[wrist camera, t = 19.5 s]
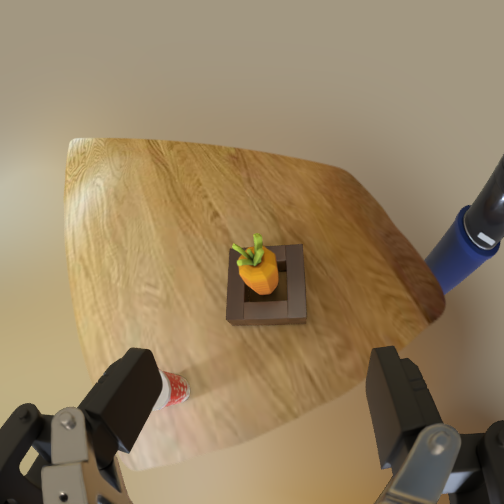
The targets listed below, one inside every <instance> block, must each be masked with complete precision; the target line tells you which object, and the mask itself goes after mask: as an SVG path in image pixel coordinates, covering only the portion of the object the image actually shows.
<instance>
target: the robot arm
mask: <svg viewBox="0 0 504 504" xmlns="http://www.w3.org/2000/svg"><path fill="white" fill-rule="evenodd" d="M463 227H464V230H465V233H466V235H467V237H468V238H469V240H470V241H471V242H472V243H473V244H474V245H475V246H476V247H477V248H479V249H481V250H485V251H488V250H491V249H493V248H494V247H495V246H496V244H497V243H498V242H499V241H500V240H501V239H502V238H503V237H504V154H503V156H502V158H501V159H500V161H499V163H498V165H497V166H496V168H495V170H494V172H493V173H492V175H491V176H490V178H489V180H488V181H487V183H486V184H485V186H484V188H483V189H482V191H481V192H480V194H479V195H478V197H477V198H476V200H475V201H474V203H473V204H472V205H471V207H470V208H469V210H467V212H466V213H465V215H464V217H463ZM162 388H163V380H162V377H161V374H160V372H159V369H158V367H157V364H156V361H155V359H154V356H153V354H152V352H151V351H150V350H149V349H141V348H130V349H129V350H128V351H127V352H126V354H125V355H124V356H123V358H120V359H119V360H117V361H116V362H114V363H113V364H111V365H110V366H109V367H108V369H107V370H106V371H105V373H104V375H103V376H101V378H100V379H99V380H98V383H96V384H95V385H94V387H93V388H92V389H91V391H90V392H89V393H88V394H87V396H86V397H85V398H84V400H83V401H82V402H81V403H80V405H79V406H78V407H77V408H76V407H67V408H64V409H62V410H60V411H59V412H57V413H56V414H55V415H43V414H41V413H40V411H39V410H38V409H37V407H36V406H35V405H34V404H31V403H26V404H23V405H21V406H19V407H18V408H17V409H16V410H15V411H14V412H13V413H12V414H11V416H10V417H9V418H8V420H7V421H6V422H5V423H4V425H3V426H2V427H1V429H0V504H133V503H132V501H131V500H130V498H129V496H128V493H127V490H126V487H125V484H124V480H123V477H122V473H121V470H120V466H119V462H118V459H117V457H116V455H115V454H116V452H117V451H118V450H119V451H122V452H125V453H130V451H131V449H132V447H133V445H134V443H135V441H136V440H137V438H138V436H139V434H140V432H141V430H142V428H143V426H144V424H145V422H146V421H147V419H148V417H149V415H150V413H151V411H152V409H153V407H154V405H155V404H156V402H157V400H158V398H159V396H160V394H161V392H162ZM366 395H367V400H368V405H369V409H370V414H371V418H372V423H373V427H374V433H375V438H376V442H377V448H378V454H379V459H380V465H381V469H386V468H392V473H393V476H392V478H391V479H390V481H389V482H388V484H387V485H386V487H385V489H384V490H383V492H382V493H381V494H380V496H379V497H378V499H377V500H376V502H375V503H374V504H437V502H438V500H439V498H440V496H441V494H443V493H444V494H445V493H448V495H449V500H450V504H504V421H503V420H502V421H497V422H495V423H493V424H492V425H491V426H490V427H489V428H488V430H487V431H486V433H476V434H459V433H458V431H457V430H456V429H455V428H453V427H452V426H450V425H447V424H444V423H443V421H442V419H441V417H440V415H439V412H438V410H437V408H436V405H435V403H434V401H433V398H432V396H431V394H430V392H429V389H427V385H426V383H425V381H424V379H423V377H422V374H421V372H420V370H419V368H418V366H417V365H415V364H414V363H413V362H412V361H411V360H410V359H409V358H405V359H400V358H399V356H398V353H397V351H396V349H395V347H394V346H387V347H380V348H373V349H372V351H371V356H370V362H369V367H368V373H367V378H366ZM31 446H33V448H34V449H35V450H37V452H38V453H39V455H38V457H37V458H36V460H35V462H34V463H33V465H32V466H31V468H30V470H29V471H28V473H27V474H26V475H25V476H23V475H22V474H21V472H20V469H19V465H20V462H21V461H22V459H23V458H24V456H25V455H26V453H27V452H28V450H29V449H30V447H31Z"/></svg>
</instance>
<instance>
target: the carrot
mask: <svg viewBox="0 0 504 504" xmlns="http://www.w3.org/2000/svg"><path fill="white" fill-rule="evenodd" d="M253 235H254V247H248V248H247V249H246V250H245V251H244V250H243V249H242V248H241V247H240V246H238V245H236V244H233V246H232V248H233V249H235V250H236V251H238V252H239V253H241V254H242V255H241V256H240V257H239V259H238V261H237V265H238V266H239V274H240V276H241V278H242V279H243V281H244V282H245V283H246V285H248V286H249V287H250V288H251V289H253V290H254V291H255V292H257V293H258V294H259V295H268V294H271V293H272V292H273V291H274V289H275V288H276V287H277V285H278V281H279V278H278V269H277V261H276V255H275V254H274V253H273V252H271V251H270V250H269V249H267V248H266V247H264V246H263V245H262V236H261V235H260V234H258V233H256V234H253Z"/></svg>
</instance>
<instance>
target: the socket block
mask: <svg viewBox="0 0 504 504" xmlns="http://www.w3.org/2000/svg"><path fill="white" fill-rule="evenodd" d="M264 247H266V248H267V249H269V250H270V251H271V252H273V253H274V254H275V255H276V261H277V269H278V271H287V296H288V301H264V302H249V291H250V287H249V286H248V285H246V283H245V282H244V281H243V279H242V278H241V276H240V274H239V266H238V265H237V261H238V259H239V257H240V256H241V255H242V254H241V253H239V252H238V251H236V250H235V249H233V248H232V249H230V252H229V269H228V287H227V307H226V320H227V321H228V322H229V323H231V324H232V325H281V324H304V323H306V319H307V312H306V291H305V273H304V257H303V244H296V245H281V246H264ZM242 249H243V250H244V251H245V250H246V249H247V248H242Z"/></svg>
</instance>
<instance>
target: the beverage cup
mask: <svg viewBox="0 0 504 504" xmlns="http://www.w3.org/2000/svg"><path fill="white" fill-rule="evenodd" d="M158 369H159V368H158ZM159 372H160V374H161V377H162V380H163V388H162V392H161V394H160V396H159V398H158V400H157V402H156V404H155V405H154V407H153V409H152V411H155V410H160V409H161V408H163V407H165V406H170V405H174V404H178V403H182V402H184V401H185V400H187V398H188V397H189V395H190V386H189V383H188V382H187V380H186V379H185V378H183V377H182V376H179V375H176V374H172V373H168V372H165V371H161V370H160V369H159Z"/></svg>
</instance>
